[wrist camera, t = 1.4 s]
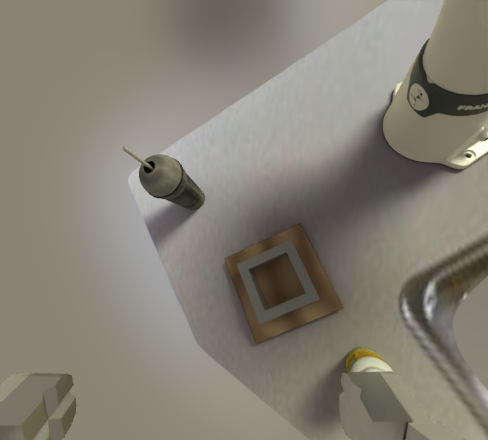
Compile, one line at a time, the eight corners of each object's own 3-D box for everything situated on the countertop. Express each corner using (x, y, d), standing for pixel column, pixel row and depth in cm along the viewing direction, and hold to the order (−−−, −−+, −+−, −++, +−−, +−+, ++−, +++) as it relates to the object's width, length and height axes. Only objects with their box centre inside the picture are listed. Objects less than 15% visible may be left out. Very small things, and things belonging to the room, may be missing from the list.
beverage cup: (194, 223, 52) (125, 187, 34) (172, 202, 55) (97, 158, 36) (217, 196, 52) (161, 145, 34) (195, 176, 55) (131, 119, 36)
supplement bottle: (384, 390, 37) (404, 422, 28) (344, 381, 39) (352, 409, 30) (384, 350, 38) (404, 369, 29) (346, 342, 40) (353, 358, 31)
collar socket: (301, 225, 46) (299, 218, 42) (342, 307, 41) (345, 309, 36) (227, 259, 48) (217, 256, 44) (258, 341, 43) (250, 348, 39)
